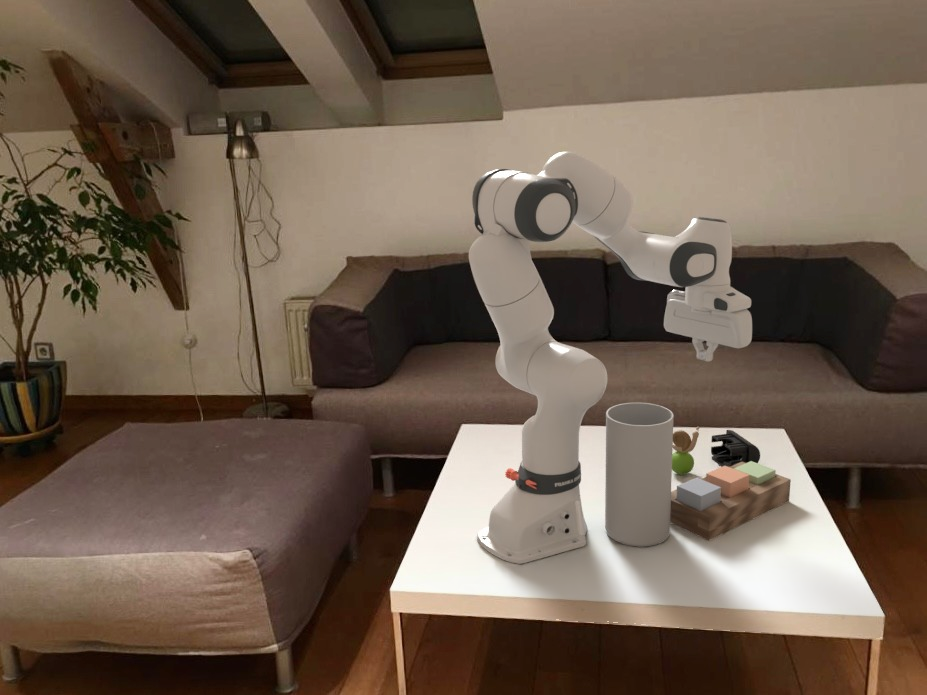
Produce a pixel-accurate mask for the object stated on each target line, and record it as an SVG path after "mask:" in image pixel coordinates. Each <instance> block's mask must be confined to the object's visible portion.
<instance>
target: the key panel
mask: <svg viewBox="0 0 927 695" xmlns="http://www.w3.org/2000/svg"><path fill="white" fill-rule="evenodd" d="M743 464H745V462H740V463H737V464H735V465H733V466H730V468H733V469H734V468H736V467H739V466H741V465H743ZM701 479H702V480H704V481H706V476H705V477H703V478H701ZM791 482H792V479H791V478H787V477H785V476H782V475H779V474H777V473H775V477H774V478H772V479H770V480H768V481H766V482H763V483H761V484H759V485H757V484H754V483H751V482H749V489H748V490H746V491H744V492H742V493H740V494H737V495H735V496H733V497H731V498H730V497H727V496H725V495H722V494H721V498H720V503H718V504H716V505H713V506H711V507H709V508H707V509H705V510H702V511H699V510H697V509H695V508H692V507H690V506H688V505H686V504H683V503H681V502H679V501H677V500H676V496H677V488H676V489H674V490H671V510H670V524H672V525H675V526H677V527H679V528H680V529H683V530H684V531H687V532H689V533H691V534H693V535H696V536H697V537H700V538H701V539H704V540H706V541H708V542H709V541H712V540H714V539H715V538H717V537H720V536H721V535H724V534H726V533H727V532H730V531H732V530H733V529H736V528H738V527H740V526H742V525H743V524H744V525H745V523H747V522H750V521H751V520H755V519H756V518H758V517H760V516H762V515H764V514H766V513H768V512H771V511H772V510H774V509H776V508H778V507H780V506H782V505H785V504H786V503H788V502H789V501H790V494H791Z"/></svg>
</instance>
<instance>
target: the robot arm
mask: <svg viewBox="0 0 927 695" xmlns="http://www.w3.org/2000/svg"><path fill="white" fill-rule="evenodd" d="M471 200H472V204H471V205H472V209H473V213H474V223H473V224H474V226H475V229H476V230H477V231H478V232H479V233H480V234H481V235H480V236H479V237H477V238H476V239H475V240H474V242H472V244H471V246H470V247H469V250H468V261H469V265H470V269H471V273H472V277H473V280H474V283H475V286H476V288H477V290H478V293H479V295H480V297H481V299H482V302H483V303H484V306H485V308H486V310H487V312H488V313H489V316H490V318H491V321H492V322H493V324H494V325H493V326H494V327H495V328H496V331H497V333H498V334H497V335H498V337H499V341H500V345H499V346H498V349H497V352H496V354H495V368H496V371H497V373H498V375H500V377H501V378H502V379H503V380H505V381H506V383H507V382H508V384H510V385H511V386H513V387H514V388H516V389H518V390H521V391H523V392H526V393H529V394H531V395H533V396H536V399H537V409H536V412H535V415H532V416H531V417H529V418H528V419H527V420H526V421H525V422H524V424H523V425H522V427H521V458H522V459H521V462H520V463H519V466H518V470H514V469H513V468H511V467H509V468H507V469H506V471H505V478H507V479H510V480H511V481H512V482H513V481H515V483H514V484H513V485H512V486H511V488H509V490H508V491H507V492H506V493H505V494H504V496H502V498H501V499H500V500H498V502H497V503H496V504H495V505H494V506H493V507H492V509H491V510H490V513H489V519H488V526H485V527H484V528H482V529H481V530H479V531H478V532H477V536H476V538H477V541H478V543H479V545H481V547H482V548H483V549H485V550H486V551H487V552H489V553H490V554H492V555H494V556H495V557H497V558H498V559H501V560H503V561H507V562H510V563H513V564H519V565H521V564H525V563H526V564H527V563H529V562H534V561H537V560H540V559H544V558H547V557H551V556H554V555H557V554H561V553H565V552H569V551H572V550H575V549H578V548H583V547H584V546H586V545H587V540H586V535H587V532H588V525H587V523H586V520H585V517H584V511H583V505H582V501H581V500H582V499H581V491H580V490H581V488H580V484H581V482H582V466H581V465H582V464H581V462H580V458H579V457H580V454H579V452H580V450H579V449H580V430H581V424H582V421H583V418H584V416H585V414H586V412H587V411H588V410H589V409H590V408H592V407H593V406H595V405H596V404H597V403H598V402H599V401H600V400H601V399H602V397H603V395H604V393H606V392H605V391H606V389H607V385H608V373H607V368H606V366H605V365H604V363H603V362H602V361H601V360H600V359H598V358H597V357H595V356H594V355H592V354H591V353H589V352H587V351H586V350H584V349H581V348H579V347H574V346H572V345H568V344H564V343H562V342H558V341H557V340H555V339H554V338H553V336H552V335H551V333H550V332H549V327H550V324H551V323H552V320H554V315H555V308H554V306H553V303H552V300H551V299H550V297H549V296H550V295H549V294H548V292H547V289H546V288H545V284H544V282H543V280H542V278H541V276H540V273H539V272H538V269H537V268H536V266H535V264H534V262H533V260H532V254H531V242H534V243H548V242H553V241H556V240H557V239H559V238H561V236H563V235H565V233H566V232H567V230H568V229H569V228H570V226H571V225H572V223H573V225H575V226H576V227H578V228H579V229H582V231H584V232H587V233H588V234H589V235H591V236H592V237H593V238H595V239H596V240H597V241H598V242H600V243H601V244H602V245H603V246H604V247H606V248H607V249H608V250H609V251H611V253H613V255H615V256H616V257H617V259H618V260H619V262H620V264H621V266H622V267H623V269H624V271H625V272H626V274H627V275H628V276H629V277H631V278H632V279H634V280H637V281H646V282H652V283H656V284H662V285H668V286H671V287H676V288H677V287H678V288H685V290H684V291H683V290H679V289H673V290H672V291H670V292H669V293H668V294H667V298H666V306H665V312H664V316H663V328H664V329H665V331H666V332H669V333H672V334H675V335H681V336H684V337H687V338H688V337H689V338H692V340H691V343H692V345H693V347H694V349H695V352H696V354H695V355H696V357H695V358H696V359H697V360H702V361H705V362H711V361H713V359H714V353H715V351H716V349H718V347H719V345H722V346H725V347H726V346H727V347H730V348H734V349H741V348H745V347H748V345H750V344H751V342H752V339H753V318H752V313H751V311H749V310H748V309H749V308H751V306H752V298H750V297H749V296H747V295H745V294H744V293H743V292H740V291H739V290H737V289H735V288H734V287H733V286H731V277H730V266H731V264H732V257H733V256H732V254H733V253H732V252H733V239H732V231H731V230H732V229H731V227H730V224H729V222H727V221H726V220H725V219H721V218H719V219H718V218H711V217H702V216H697V217H694V218H692V219H691V220H690V223H689V225H688V227H687V228H686V229H685V230H683V231H682V232H680V233H679V234H677V235H675V236H668V235H664V234H663V235H662V234H656V233H653V232H648V231H644V230H643V231H641V230H640V231H639V230H636V229H635V228H634V227H632V226H631V225H630V223H628V222H629V220H630V218H631V216H632V211H633V206H634V205H633V204H634V202H633V196H632V193H631V192H630V191H629V189H628V188H627V187H626V185H624V183H623V182H622V181H621V180H619V179H618V178H617V177H616V176H614V175H613V174H612V173H610V172H609V171H608V170H607V169H606V168H604V167H602V166H601V165H600V164H598V163H596V162H595V161H592V160H591V159H589V158H587V157H585V156H583V155H581V154H579V153H577V152H574V151H567V150H565V151H562V152H558V153H556V154H554V155H553V156H551V157H550V158H549V159H548V160H547V161H546V162H545V164H544V165H543V167H542V169H541V172H539V173H538V174H533V173H531V172H526V171H521V170H520V171H519V170H511V169H507V168H501V169H494V170H491V171H488V172H486V173H484V174H483V175H481V176H480V178H479V179H478V180H477V181H476V182H475V185H474V187H473V191H472V199H471ZM704 342H706V347H707V349H705V348H704V344H703V343H704Z"/></svg>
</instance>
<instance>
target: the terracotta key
mask: <svg viewBox="0 0 927 695" xmlns="http://www.w3.org/2000/svg"><path fill="white" fill-rule="evenodd" d="M705 477H706V482H709V483H711V484H714V485H716V486H719V487H721V494H722V495H725V496H727V497H730V498H731V497H733V496H735V495H737V494H740V493H742V492H744V491H746V490H748V489H749V474H746V473H743V472H741V471H738V470H735V469H733V468H730V467H727V466H723V467H721V466H719V467H717V468H716V469H714V470H711V471H708V472H707V473H706V474H705Z"/></svg>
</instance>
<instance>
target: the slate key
mask: <svg viewBox="0 0 927 695" xmlns="http://www.w3.org/2000/svg"><path fill="white" fill-rule="evenodd" d="M676 489H677V496H676V500H677V501H679V502H681V503H683V504H686V505H688V506H690V507H692V508H695V509H697V510H699V511H702V510H705V509H707V508H709V507H711V506H713V505H716V504H718V503H720V498H721V487H719V486H716V485H714V484H711V483H709V482H706V481H704V480H702V478H699V477H695V478H694V477H693V479H689V480H688V481H685V482H683V483H680V484H678V485H676Z"/></svg>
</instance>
